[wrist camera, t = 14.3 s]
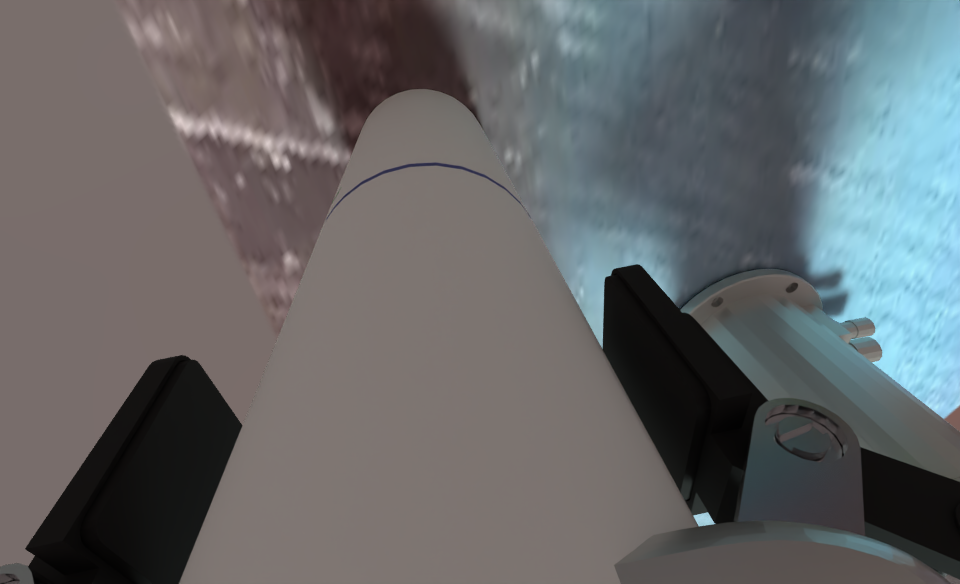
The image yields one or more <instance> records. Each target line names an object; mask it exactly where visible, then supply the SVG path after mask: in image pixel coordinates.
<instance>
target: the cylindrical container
mask: <svg viewBox="0 0 960 584" xmlns="http://www.w3.org/2000/svg"><path fill="white" fill-rule="evenodd" d="M694 527H699V526H698V524H697V522H696V520H695V519H694V517H693V515H692V513H691V511H690V509H689V508H688V506H687V504H686V502H685V500H684V498H683V497H682V495H681V493H680V491H679V489H678V487H677V486H676V484H675V482H674V480H673V478H672V476H671V475H670V473H669V471H668V469H667V467H666V465H665V464H664V462H663V460H662V458H661V456H660V454H659V452H658V451H657V449H656V447H655V445H654V443H653V441H652V440H651V438H650V436H649V434H648V432H647V430H646V429H645V427H644V425H643V423H642V421H641V419H640V418H639V416H638V414H637V412H636V410H635V408H634V407H633V405H632V403H631V401H630V399H629V397H628V396H627V394H626V392H625V390H624V388H623V386H622V385H621V383H620V381H619V379H618V377H617V375H616V374H615V372H614V370H613V368H612V366H611V364H610V362H609V361H608V359H607V357H606V355H605V353H604V351H603V350H602V348H601V346H600V344H599V342H598V340H597V339H596V337H595V335H594V333H593V331H592V329H591V328H590V326H589V324H588V322H587V320H586V318H585V317H584V315H583V313H582V311H581V309H580V307H579V305H578V304H577V302H576V300H575V298H574V296H573V294H572V293H571V291H570V289H569V287H568V285H567V283H566V282H565V280H564V278H563V276H562V274H561V272H560V271H559V269H558V267H557V265H556V263H555V261H554V260H553V258H552V256H551V254H550V252H549V250H548V248H547V247H546V245H545V243H544V241H543V239H542V237H541V236H540V234H539V232H538V230H537V228H536V226H535V225H534V223H533V221H532V220H531V217H530V215H529V214H528V212H527V210H526V208H525V206H524V204H523V203H522V201H521V199H520V197H519V195H518V193H517V192H516V190H515V188H514V186H513V184H512V182H511V180H510V179H509V177H508V175H507V173H506V171H505V169H504V168H503V166H502V164H501V162H500V160H499V158H498V157H497V155H496V153H495V151H494V149H493V147H492V146H491V144H490V142H489V140H488V138H487V136H486V135H485V133H484V131H483V129H482V127H481V125H480V124H479V122H478V121H477V119H476V118H475V116H474V115H473V113H472V112H471V111H470V110H469V109H468V108H467V107H466V106H465V105H464V104H462V103H461V102H459V101H458V100H456V99H455V98H454V97H452V96H449V95H447V94H444V93H442V92H440V91H434V90H429V89H411V90H407V91H403V92H400V93H397V94H395V95H393V96H391V97H389V98H387V99H385V100H384V101H383V102H382V103H380V104H379V105H378V106H377V107H376V108H375V109H374V110H373V111H372V113H371V114H370V115H369V116H368V118H367V120H366V122H365V124H364V126H363V128H362V130H361V132H360V135H359V137H358V140H357V142H356V145H355V147H354V150H353V152H352V155H351V157H350V160H349V162H348V165H347V167H346V170H345V172H344V175H343V177H342V180H341V182H340V185H339V187H338V190H337V192H336V195H335V197H334V200H333V202H332V205H331V207H330V210H329V212H328V215H327V217H326V219H325V222H324V224H323V227H322V229H321V232H320V234H319V237H318V239H317V242H316V244H315V247H314V249H313V252H312V254H311V257H310V259H309V262H308V264H307V267H306V269H305V272H304V274H303V277H302V279H301V282H300V284H299V287H298V289H297V292H296V294H295V296H294V299H293V301H292V304H291V306H290V309H289V311H288V314H287V316H286V319H285V321H284V324H283V326H282V329H281V331H280V334H279V336H278V339H277V341H276V344H275V346H274V349H273V351H272V354H271V356H270V359H269V361H268V364H267V366H266V369H265V371H264V373H263V376H262V379H261V381H260V384H259V386H258V388H257V391H256V393H255V396H254V399H253V401H252V404H251V406H250V408H249V411H248V413H247V416H246V418H245V421H244V423H243V426H242V428H241V431H240V433H239V436H238V438H237V441H236V443H235V446H234V448H233V450H232V453H231V455H230V458H229V460H228V463H227V465H226V468H225V470H224V473H223V475H222V478H221V480H220V483H219V485H218V488H217V490H216V493H215V495H214V498H213V500H212V503H211V505H210V508H209V510H208V513H207V515H206V518H205V520H204V523H203V525H202V527H201V530H200V532H199V535H198V537H197V540H196V542H195V545H194V547H193V550H192V552H191V555H190V557H189V560H188V562H187V565H186V567H185V570H184V572H183V575H182V577H181V580H180V582H179V584H621V583H620V580H619V577H618V575H617V572H616V569H615V566H614V565H615V564H616V563H617V562H619V561H620V560H621V559H623V558H624V557H625V556H627V555H628V554H629V553H631V552H632V551H634V550H635V549H636V548H637V547H638V546H639V545H641V544H642V543H643V542H645V541H646V540H647V539H648V538H650V537H651V536H653V535H656V534H661V533H666V532H671V531H676V530H681V529H687V528H694Z"/></svg>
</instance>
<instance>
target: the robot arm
mask: <svg viewBox="0 0 960 584" xmlns="http://www.w3.org/2000/svg"><path fill="white" fill-rule="evenodd" d="M874 333H875V326H874V323H873V322H872V321H871V320H870V319H868V318H866V317H865V318H859V319H854V320H849V321H845V322H843V323H839V322H837V321H835V320H833V319H832V318H831V317H829V316H828V315H827V314H825V313H824V312H823V304H822V301H821V298H820V296H819V293H818V292H817V291H816V290H815V288H814V287H813V286H812V285H811V284H809V283H808V282H807V281H805V280H804V279H802V278H801V277H800V276H798V275H795V274H793V273H791V272H789V271H784V270H779V269H757V270H752V271H747V272H742V273H739V274H736V275H733V276H730V277H728V278H725V279H723V280H721V281H719V282H717V283H715V284H713V285H711V286H709V287H708V288H706V289H705V290H703V291H702V292H700V293H699V294H697V295H696V296H695V297H694V298H692V299H691V300H690V301H689V302H688V303H687V304H686V305H684V306H683V307H682V308H681V310H679V308H678V307H677V306H676V305H675V304H674V303H673V302H672V300H671V299H670V298H669V297H668V296H667V295H666V294H665V292H664V291H663V290H662V289H661V288H660V287H659V286H658V285H657V283H656V282H655V281H654V280H653V279H652V278H651V277H650V275H649V274H648V273H647V272H646V271H645V270H644V269H643V267H642V266H640V265H638V264H636V265H631V266H626V267H621V268H616V269H614V270H613V271H612V274H611V276H608V277H606V278H605V285H604V322H603V351H604V353H605V355H606V357H607V359H608V361H609V362H610V364H611V366H612V368H613V370H614V372H615V374H616V375H617V377H618V379H619V381H620V383H621V385H622V386H623V388H624V390H625V392H626V394H627V396H628V397H629V399H630V401H631V403H632V405H633V407H634V408H635V410H636V412H637V414H638V416H639V418H640V419H641V421H642V423H643V425H644V427H645V429H646V430H647V432H648V434H649V436H650V438H651V440H652V441H653V443H654V445H655V447H656V449H657V451H658V452H659V454H660V456H661V458H662V460H663V462H664V464H665V465H666V467H667V469H668V471H669V473H670V475H671V476H672V478H673V480H674V482H675V484H676V486H677V487H678V489H679V491H680V493H681V495H682V497H683V498H684V500H685V502H686V504H687V506H688V508H689V509H690V511H691V513H692V515H697V514H701V513H706V512H708V513H709V515H710V516H711V518H712V520H713V521H714V523H716V524H714V525H707V526H700V527H694V528H687V529H681V530H676V531H671V532H666V533H661V534H656V535H653V536H651V537H650V538H648V539H647V540H646V541H645V542H643V543H642V544H641V545H639V546H638V547H637V548H636V549H635V550H634V551H632V552H631V553H629V554H628V555H627V556H625V557H624V558H623V559H621V560H620V561H619V562H617V563H616V564H615V565H614V566H615V569H616V572H617V575H618V577H619V580H620V583H621V584H960V432H959V431H958V430H957V429H955V428H954V427H953V426H952V425H950V424H949V423H948V422H946V421H945V420H944V419H943V418H942V417H940V416H939V415H938V414H936V413H935V412H934V411H933V410H931V409H930V408H929V407H928V406H926V405H925V404H924V403H922V402H921V401H920V400H919V399H917V398H916V397H915V396H914V395H912V394H911V393H910V392H909V391H907V390H906V389H905V388H903V387H902V386H901V385H900V384H898V383H897V382H896V381H895V380H893V379H892V378H891V377H889V376H888V375H887V374H886V373H884V372H883V371H882V370H881V369H879V368H878V367H877V366H875V365H874V364H873V363H872V362H875V361H879V360H880V358H881V357H882V350H881V347H880V345H879V344H878V343H877V342H876V340H874V339H872V338H870V337H866V336H871V335H873V334H874ZM861 337H863V338H861ZM855 338H858V339H855ZM851 339H853V340H851ZM241 428H242V424H241V423H240V421H239V420H238V419H237V417H236V416H235V414H234V413H233V412H232V410H231V408H230V407H229V406H228V404H227V403H226V401H225V400H224V398H223V397H222V396H221V394H220V393H219V391H218V390H217V388H216V387H215V385H214V384H213V382H212V381H211V380H210V378H209V377H208V375H207V374H206V373H205V371H204V369H203V368H202V367H201V365H200V364H199V363H198V362H197V361H196V360H191V359H190V358H189V357H186V356H183V355H180V356H175V357H170V358H166V359H160V360H156V361H154V362H152V363H151V364H150V365H149V367H148V368H147V370H146V371H145V373H144V374H143V376H142V377H141V379H140V380H139V381H138V383H137V384H136V386H135V387H134V389H133V391H132V392H131V393H130V395H129V397H128V398H127V399H126V401H125V402H124V404H123V405H122V407H121V408H120V409H119V411H118V413H117V414H116V415H115V417H114V418H113V420H112V421H111V423H110V424H109V426H108V427H107V429H106V430H105V432H104V433H103V435H102V437H101V438H100V439H99V440H98V442H97V443H96V445H95V446H94V448H93V449H92V451H91V452H90V454H89V455H88V457H87V458H86V460H85V461H84V463H83V464H82V466H81V467H80V469H79V470H78V471H77V473H76V475H75V476H74V477H73V479H72V480H71V482H70V483H69V485H68V486H67V488H66V489H65V491H64V492H63V494H62V495H61V497H60V498H59V499H58V501H57V502H56V504H55V506H54V507H53V508H52V510H51V511H50V513H49V514H48V516H47V517H46V519H45V520H44V522H43V523H42V525H41V526H40V528H39V529H38V530H37V532H36V534H35V535H34V536H33V538H32V539H31V541H30V542H29V544H28V545H27V547H26V548H25V549H26V550H27V551H29V552H30V553H32V554H33V555H35V557H34V558H33V560H32V562H31V563H30V565H29V566H26V565H23V564H19V563H15V564H8V565H3V566H1V567H0V584H179V582H180V580H181V577H182V575H183V572H184V570H185V567H186V565H187V562H188V560H189V557H190V555H191V552H192V550H193V547H194V545H195V542H196V540H197V537H198V535H199V532H200V530H201V527H202V525H203V523H204V520H205V518H206V515H207V513H208V510H209V508H210V505H211V503H212V500H213V498H214V495H215V493H216V490H217V488H218V485H219V483H220V480H221V478H222V475H223V473H224V470H225V468H226V465H227V463H228V460H229V458H230V455H231V453H232V450H233V448H234V446H235V443H236V441H237V438H238V436H239V433H240V431H241Z"/></svg>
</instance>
